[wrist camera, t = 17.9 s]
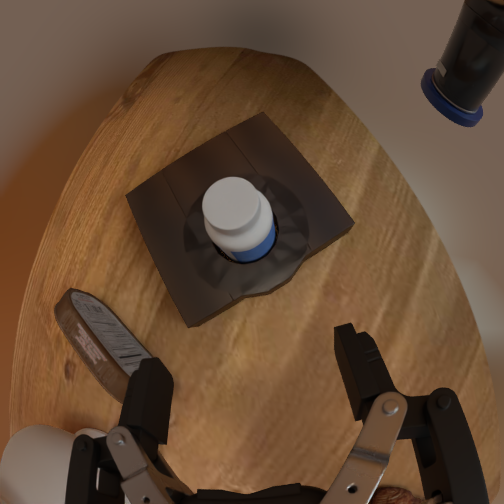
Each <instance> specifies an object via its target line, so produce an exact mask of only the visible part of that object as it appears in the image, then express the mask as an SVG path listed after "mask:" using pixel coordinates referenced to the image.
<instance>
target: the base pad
mask: <svg viewBox="0 0 504 504" xmlns="http://www.w3.org/2000/svg"><path fill="white" fill-rule="evenodd" d="M227 177H238V178H243V179H245V180H247V181H248V182H250V183H251V184H252V185H253V186H254V187H255V189H256V190H258V191H259V192H261V193H262V194H263V195H264V196H265V198H266V199H267V200H268V202H269V204H270V206H271V210H272V214H273V221H274V223H275V224H276V226H277V228H278V237H277V242H276V244H275V246H274V247H273V248H272V250H271V251H270V253H269V254H268V255H267V256H265V257H263V258H262V259H260V260H259V261H257V262H253V263H248V264H239V263H234V262H230V261H228V260H227V259H225V258H224V257H223V255H222V253H221V252H220V250H219V247H218V246H217V245H216V244H215V243H214V242H213V241H212V240H211V238H210V237H209V235H208V233H207V231H206V228H205V223H204V214H203V209H202V202H203V198H204V195H205V193H206V191H207V190H208V189H209V187H210V186H211V185H213V184H214V183H215V182H217V181H218V180H220V179H223V178H227ZM125 196H126V198H127V201H128V203H129V206H130V208H131V211H132V213H133V216H134V218H135V220H136V223H137V225H138V227H139V230H140V232H141V234H142V237H143V239H144V241H145V243H146V246H147V248H148V250H149V252H150V254H151V256H152V259H153V261H154V263H155V265H156V267H157V269H158V271H159V273H160V275H161V277H162V279H163V281H164V283H165V285H166V287H167V289H168V291H169V293H170V295H171V297H172V299H173V301H174V303H175V305H176V307H177V309H178V311H179V313H180V314H181V316H182V318H183V320H184V322H185V324H186V325H187V327H188V328H191V327H198V326H200V325H202V324H203V323H205V322H207V321H208V320H210V319H212V318H214V317H215V316H217V315H219V314H220V313H222V312H224V311H225V310H227V309H229V308H230V307H232V306H234V305H235V304H237V303H239V302H240V301H242V300H244V299H245V298H250V297H256V296H262V295H268V294H271V293H272V292H274V291H275V290H277V289H279V288H280V287H282V286H283V285H285V284H287V283H288V282H289V281H290V280H291V279H292V278H293V276H294V275H295V273H296V272H297V270H298V269H299V268H300V266H301V265H302V263H303V262H304V261H306V260H307V259H309V258H310V257H312V256H313V255H315V254H316V253H318V252H319V251H321V250H323V249H324V248H326V247H327V246H329V245H330V244H332V243H333V242H335V241H336V240H338V239H339V238H341V237H342V236H344V235H345V234H347V233H348V232H349V231H350V229H351V228H352V227H353V225H354V224H355V222H354V221H353V220H352V218H351V217H350V215H349V214H348V213H347V211H346V210H345V209H344V207H343V206H342V205H341V203H340V202H339V201H338V199H337V198H336V197H335V195H334V194H333V193H332V191H331V190H330V189H329V188H328V186H327V185H326V184H325V182H324V181H323V180H322V179H321V177H320V176H319V175H318V174H317V172H316V171H315V170H314V169H313V168H312V166H311V165H310V164H309V163H308V162H307V160H306V159H305V158H304V157H303V156H302V154H301V153H300V152H299V151H298V150H297V149H296V147H295V146H294V145H293V144H292V143H291V142H290V141H289V139H288V138H287V137H286V136H285V135H284V134H283V133H282V132H281V130H280V129H279V128H278V127H277V126H276V125H275V124H274V123H273V122H272V121H271V120H270V118H269V117H268V116H267V115H266V114H265V113H264V112H262V113H259V114H257V115H255V116H253V117H251V118H249V119H248V120H246V121H244V122H242V123H240V124H238V125H236V126H234V127H232V128H230V129H229V130H227V131H226V132H223V133H221V134H219V135H218V136H216V137H214V138H212V139H211V140H209V141H207V142H205V143H204V144H202V145H200V146H199V147H197V148H195V149H194V150H192V151H190V152H189V153H187V154H185V155H184V156H182V157H181V158H179V159H177V160H176V161H174V162H173V163H171V164H170V165H168V166H167V167H165V168H163V169H162V170H161V171H159V172H158V173H156V174H155V175H153V176H152V177H150V178H149V179H147V180H146V181H144V182H143V183H142V184H140V185H139V186H137V187H136V188H135V189H133V190H132V191H130V192H129V193H128V194H126V195H125Z"/></svg>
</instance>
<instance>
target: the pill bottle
mask: <svg viewBox="0 0 504 504" xmlns="http://www.w3.org/2000/svg"><path fill="white" fill-rule="evenodd" d="M202 209H203V214H204V223H205V228H206V231H207V233H208V235H209V237H210V238H211V240H212V241H213V242H214V243H215V244H216V245H217V246H218V247H219V248H220V249H221V250H222V251H223V252H224V253H225V254H226V255H227V256H228V257H229V258H230V259H231V260H233V261H234V262H236V263H239V264H248V263H253V262H257V261H259V260H260V259H262V258H263V257H265V256H267V255H268V254H269V253H270V251H271V250H272V248H273V247H274V246H275V244H276V233H275V227H274V221H273V214H272V210H271V206H270V204H269V202H268V200H267V199H266V198H265V196H264V195H263V194H262V193H261V192H259V191H258V190H256V189H255V187H254V186H253V185H252V184H251V183H250V182H248V181H247V180H245V179H243V178H238V177H227V178H223V179H220V180H218V181H217V182H215V183H214V184H213V185H211V186H210V187H209V189H208V190H207V191H206V193H205V195H204V198H203V202H202Z"/></svg>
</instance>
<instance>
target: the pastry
mask: <svg viewBox="0 0 504 504" xmlns="http://www.w3.org/2000/svg"><path fill="white" fill-rule="evenodd" d="M422 501H424V500H421V499H420V498H414V497H413V495H412V493H411V492H410V491H408V490H406V489H403V488H395V487H386V488H381V489H379V490H378V492H377V493H376V495H375V496H374V498H373V500H372V504H420V503H421V502H422Z"/></svg>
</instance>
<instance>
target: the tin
mask: <svg viewBox="0 0 504 504" xmlns="http://www.w3.org/2000/svg"><path fill="white" fill-rule="evenodd" d="M54 314H55V318H56V321H57V323H58V325H59V327H60V328H61V330H62V331H63V333H64V335H65V336H66V338H67V339H68V341H69V342H70V344H71V345H72V347H73V348H74V350H75V351H76V352H77V354H78V355H79V357H80V358H81V359H82V361H83V362H84V364H85V365H86V366H87V368H88V369H89V370H90V372H91V373H92V374H93V375H94V377H95V378H96V379H97V381H98V382H99V383H100V384H101V386H102V387H103V388H104V389H105V390H106V391H107V392H108V393H109V394H110V395H111V396H112V397H113V398H115V399H116V400H117V401H118V402H120V403H121V404H123V402H124V398H125V393H126V390H127V385H128V381H129V378H130V377H131V375H132V373H133V372H134V370H138V369H139V365H140V361H141V360H142V359H143V358H153V356H152V355H151V354H150V353H149V352H148V351H147V350H146V349H145V348H144V347H143V346H142V344H141V343H140V342H139V341H138V340H137V339H136V338H135V337H134V336H133V334H132V333H131V332H130V331H129V330H128V329H127V327H126V326H125V325H124V324H123V323H122V322H121V320H120V319H119V318H118V317H117V316H116V315H115V314H114V312H113V311H112V310H111V309H110V308H109V307H108V306H106V305H105V304H104V303H103V302H102V301H100V300H99V299H98V298H96V297H95V296H93V295H92V294H90V293H87V292H84V291H81V290H78V289H73V288H70V289H68V290H67V291H66V292H65V294H64V295H63V297H62V298H61V299H60V301H59V302H58V303H57V304H56V305H55V308H54Z"/></svg>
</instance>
